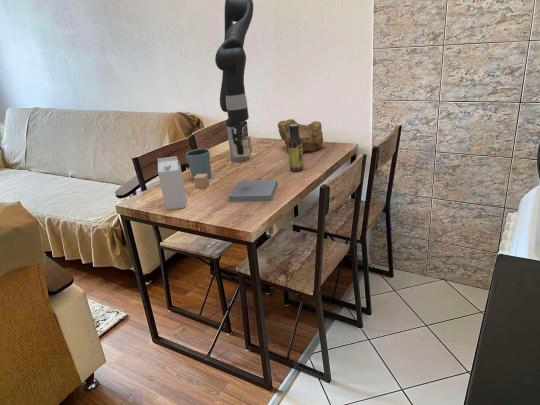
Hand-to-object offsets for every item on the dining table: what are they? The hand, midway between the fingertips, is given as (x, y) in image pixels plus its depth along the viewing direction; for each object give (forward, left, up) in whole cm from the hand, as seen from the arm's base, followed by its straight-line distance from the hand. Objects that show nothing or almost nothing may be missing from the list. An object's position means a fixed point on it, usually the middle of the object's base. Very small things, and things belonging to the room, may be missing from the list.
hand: (242, 151), depth 152 cm
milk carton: (+12, -25, -17) cm, 32 cm away
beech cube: (0, 0, -1) cm, 1 cm away
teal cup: (-18, -25, -17) cm, 35 cm away
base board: (+1, +3, -16) cm, 17 cm away
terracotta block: (-7, -21, -17) cm, 28 cm away
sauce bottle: (-25, +17, -17) cm, 35 cm away
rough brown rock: (-54, +15, -17) cm, 59 cm away
